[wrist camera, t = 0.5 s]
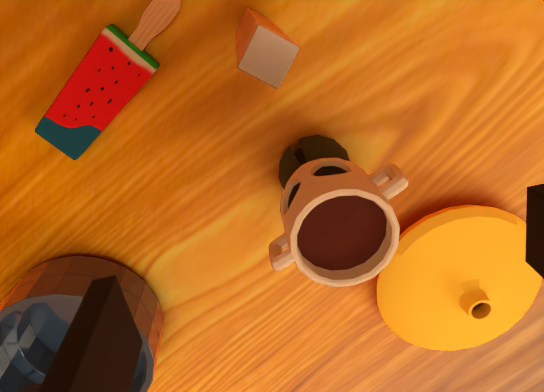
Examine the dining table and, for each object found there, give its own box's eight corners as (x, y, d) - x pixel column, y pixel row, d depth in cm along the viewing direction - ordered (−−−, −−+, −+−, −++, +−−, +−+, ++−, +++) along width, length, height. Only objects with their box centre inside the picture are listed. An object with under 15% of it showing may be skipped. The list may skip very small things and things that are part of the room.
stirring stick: (247, 6, 36) (258, 23, 19) (270, 20, 36) (300, 47, 20) (235, 31, 36) (236, 68, 20) (258, 44, 37) (278, 89, 21)
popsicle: (198, 18, 35) (79, 164, 38) (199, 17, 36) (84, 158, 40) (146, -29, 33) (28, 128, 37) (150, -29, 34) (35, 123, 38)
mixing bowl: (38, 229, 42) (5, 269, 36) (187, 286, 45) (180, 331, 40) (-7, 345, 47) (-42, 397, 41) (132, 389, 50) (118, 443, 44)
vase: (528, 308, 50) (573, 356, 43) (381, 346, 50) (403, 399, 44) (523, 172, 43) (573, 205, 37) (354, 218, 44) (375, 257, 37)
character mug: (343, 98, 39) (391, 146, 27) (386, 163, 42) (447, 232, 30) (239, 173, 41) (240, 248, 29) (286, 230, 44) (305, 321, 32)
